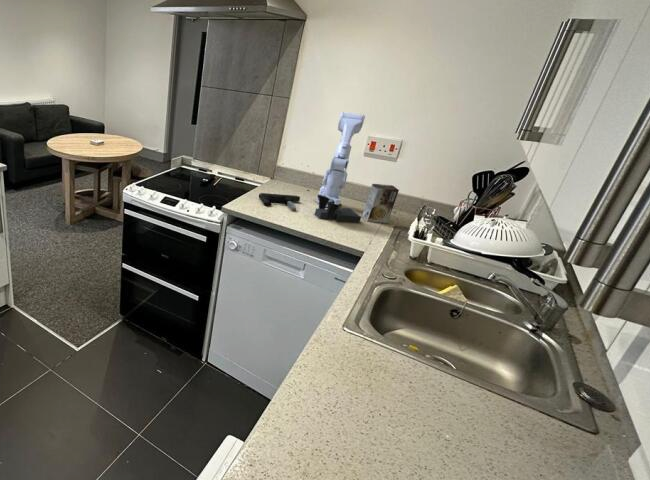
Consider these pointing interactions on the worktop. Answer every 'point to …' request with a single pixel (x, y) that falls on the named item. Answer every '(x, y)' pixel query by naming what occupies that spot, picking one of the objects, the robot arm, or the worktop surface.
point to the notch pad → (347, 216)
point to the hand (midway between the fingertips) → (325, 213)
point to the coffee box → (380, 203)
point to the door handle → (279, 199)
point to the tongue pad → (324, 214)
